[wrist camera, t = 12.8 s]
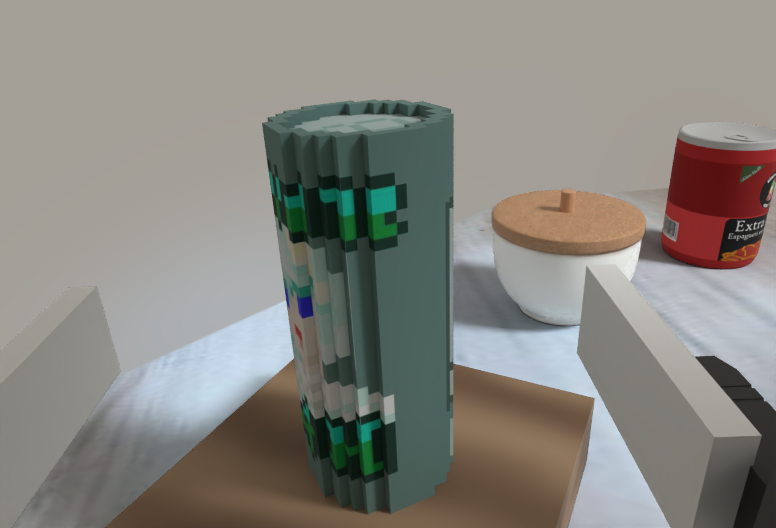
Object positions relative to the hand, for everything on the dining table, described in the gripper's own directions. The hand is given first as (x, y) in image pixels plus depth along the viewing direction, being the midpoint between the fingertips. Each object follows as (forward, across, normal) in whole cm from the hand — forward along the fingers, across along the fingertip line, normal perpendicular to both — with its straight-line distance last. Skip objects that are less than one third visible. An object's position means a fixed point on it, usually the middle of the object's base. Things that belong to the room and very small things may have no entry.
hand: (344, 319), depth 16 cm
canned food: (+35, +30, -15) cm, 48 cm away
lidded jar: (+26, +14, -15) cm, 33 cm away
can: (+6, 0, -11) cm, 13 cm away
